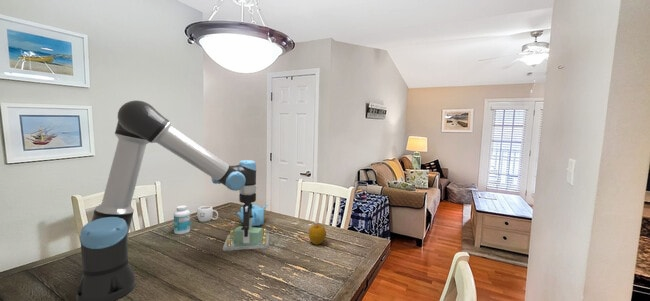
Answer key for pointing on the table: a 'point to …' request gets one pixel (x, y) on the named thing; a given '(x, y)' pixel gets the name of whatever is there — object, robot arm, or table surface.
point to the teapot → (255, 215)
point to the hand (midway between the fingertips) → (247, 236)
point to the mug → (205, 213)
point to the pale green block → (254, 234)
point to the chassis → (240, 245)
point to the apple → (317, 234)
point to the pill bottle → (181, 220)
